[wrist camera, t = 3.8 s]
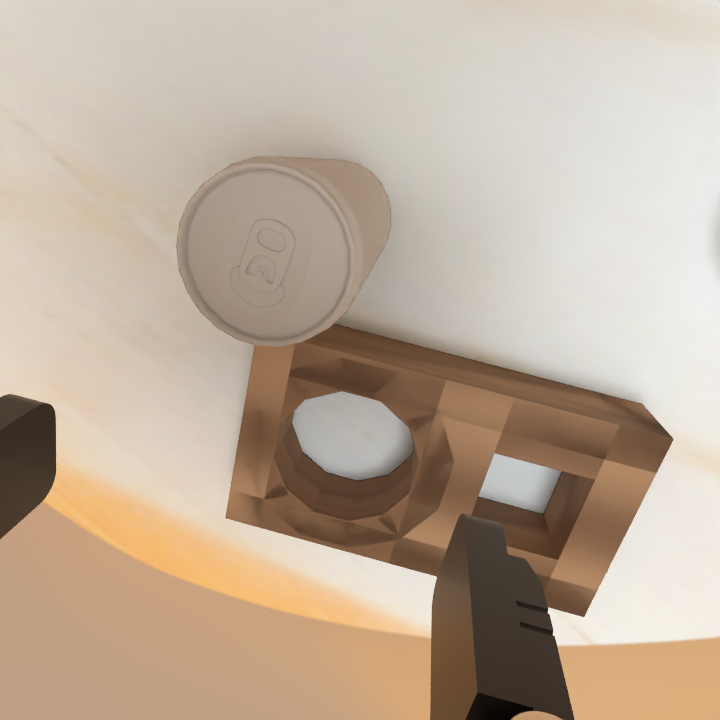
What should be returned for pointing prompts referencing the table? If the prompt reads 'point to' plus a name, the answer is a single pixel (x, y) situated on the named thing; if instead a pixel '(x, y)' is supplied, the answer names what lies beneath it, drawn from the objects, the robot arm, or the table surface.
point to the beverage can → (281, 245)
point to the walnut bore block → (446, 459)
